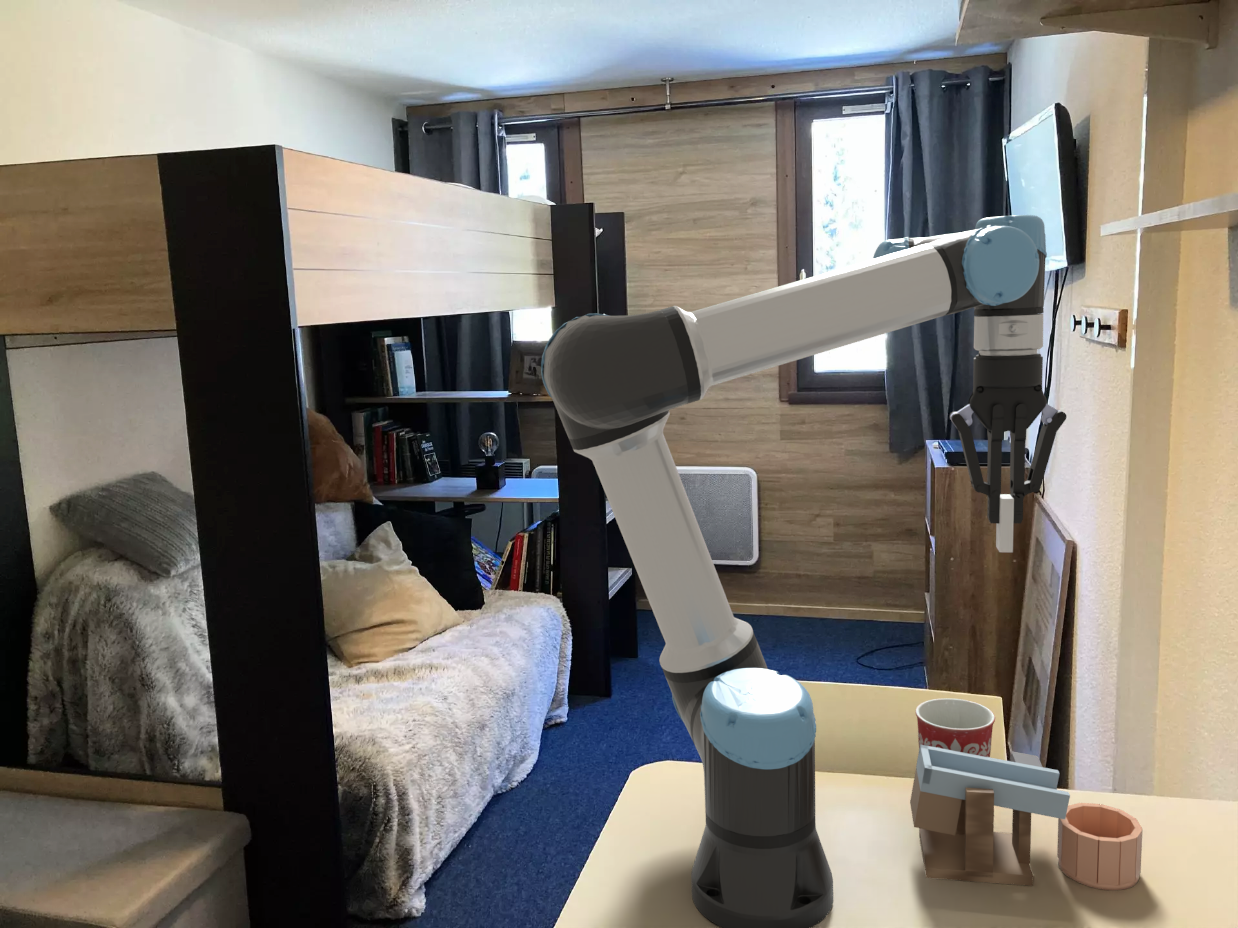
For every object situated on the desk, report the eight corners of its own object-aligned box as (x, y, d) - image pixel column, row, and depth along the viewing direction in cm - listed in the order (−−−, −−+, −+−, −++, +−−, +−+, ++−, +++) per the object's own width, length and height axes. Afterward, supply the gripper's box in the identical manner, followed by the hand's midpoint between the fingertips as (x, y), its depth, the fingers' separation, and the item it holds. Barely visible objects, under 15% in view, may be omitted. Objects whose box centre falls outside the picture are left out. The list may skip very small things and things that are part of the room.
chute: (914, 828, 109) (924, 768, 108) (905, 773, 122) (915, 718, 120) (1057, 857, 106) (1070, 796, 105) (1033, 798, 119) (1044, 742, 117)
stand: (926, 877, 108) (926, 789, 107) (919, 836, 117) (919, 753, 115) (1034, 885, 106) (1036, 795, 104) (1019, 842, 114) (1021, 758, 113)
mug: (998, 839, 115) (1000, 730, 113) (917, 833, 117) (917, 726, 115) (984, 787, 127) (986, 688, 125) (911, 782, 130) (911, 684, 127)
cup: (1067, 886, 106) (1068, 838, 105) (1051, 846, 113) (1052, 800, 112) (1149, 892, 104) (1151, 843, 103) (1127, 851, 112) (1128, 805, 111)
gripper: (953, 356, 113) (951, 556, 117) (1075, 352, 110) (1069, 558, 114) (945, 352, 120) (944, 541, 124) (1060, 348, 117) (1055, 542, 121)
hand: (1004, 549), depth 119 cm, fingers closed
